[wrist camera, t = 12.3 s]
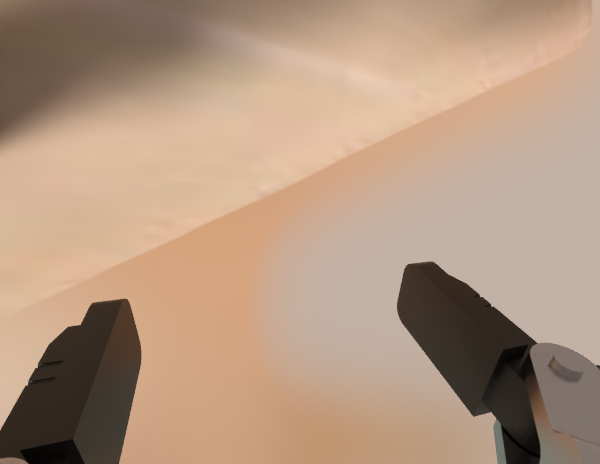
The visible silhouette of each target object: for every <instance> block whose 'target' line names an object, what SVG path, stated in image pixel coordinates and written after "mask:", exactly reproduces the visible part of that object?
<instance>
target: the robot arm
mask: <svg viewBox="0 0 600 464" xmlns="http://www.w3.org/2000/svg"><path fill="white" fill-rule="evenodd" d="M397 310H398V315H399V318H400V320H401V322H402V323H403V325H404V326H405V327H406V328H407V330H408V331H409V333H410V334H411V335H412V336H413V338H414V339H415V340H416V341H417V343H418V344H419V346H420V347H421V348H422V350H423V351H424V352H425V354H426V355H427V356H428V357H429V359H430V360H431V361H432V363H433V364H434V365H435V366H436V368H437V369H438V371H439V372H440V373H441V375H442V376H443V377H444V378H445V380H446V381H447V382H448V383H449V385H450V386H451V387H452V389H453V390H454V392H455V393H456V394H457V395H458V397H459V398H460V399H461V401H462V402H463V403H464V405H465V406H466V407H467V409H468V410H469V411H470V413H471V414H472V415H473V416H478V415H482V414H485V413H489V412H492V414H493V415H494V416H495V417H496V421H495V423H494V437H495V444H496V452H497V461H498V464H600V366H598V365H594V364H593V363H592V362H591V361H590V360H588V359H587V358H585V357H584V356H582V355H580V354H579V353H577V352H575V351H573V350H571V349H569V348H566V347H563V346H560V345H557V344H552V343H536V342H535V341H534V340H533V339H532V338H531V337H529V336H528V335H527V334H526V333H525V332H523V331H522V330H521V329H520V328H519V327H517V326H516V325H515V324H514V323H513V322H511V321H510V320H509V319H508V318H507V317H506V316H504V315H503V314H502V313H501V312H500V311H498V310H497V309H496V308H494V307H491V304H490V303H489V302H488V301H486V300H485V299H484V298H483V297H480V295H479V294H478V293H477V292H476V291H474V290H473V289H472V288H471V287H469V285H467V284H466V283H464V282H462V281H460V280H458V279H456V278H454V277H452V276H450V275H448V274H447V273H446V272H445V271H444V270H443V269H441V268H440V267H439V266H438V265H437V264H435V263H434V262H422V263H414V264H408V265H407V266H406V268H405V269H404V273H403V278H402V283H401V288H400V292H399V297H398V302H397ZM140 366H141V345H140V340H139V336H138V332H137V329H136V325H135V321H134V317H133V314H132V310H131V306H130V303H129V301H128V300H127V299H119V300H112V301H103V302H96V303H92V304H91V305H90V307H89V309H88V311H87V313H86V316H85V317H84V319H83V322H82V323H81V325H78V326H71V327H68V328H67V329H65V330H64V331H63V332H62V333H61V334H60V335H59V336H58V337H57V338H56V339H55V340H53V342H51V343H50V344H49V346H48V347H47V349H46V351H45V353H44V354H43V356H42V358H41V360H40V361H39V363H38V368H35V370H34V372H33V374H32V375H31V377H30V379H29V381H28V386H25V388H24V390H23V391H22V393H21V395H20V397H19V398H18V400H17V402H16V404H15V405H14V407H13V409H12V411H11V413H10V414H9V416H8V418H7V419H6V421H5V423H4V425H3V427H2V428H1V430H0V464H119V460H120V456H121V452H122V447H123V443H124V438H125V434H126V429H127V425H128V420H129V416H130V411H131V407H132V402H133V398H134V393H135V388H136V384H137V379H138V374H139V370H140Z"/></svg>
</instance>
